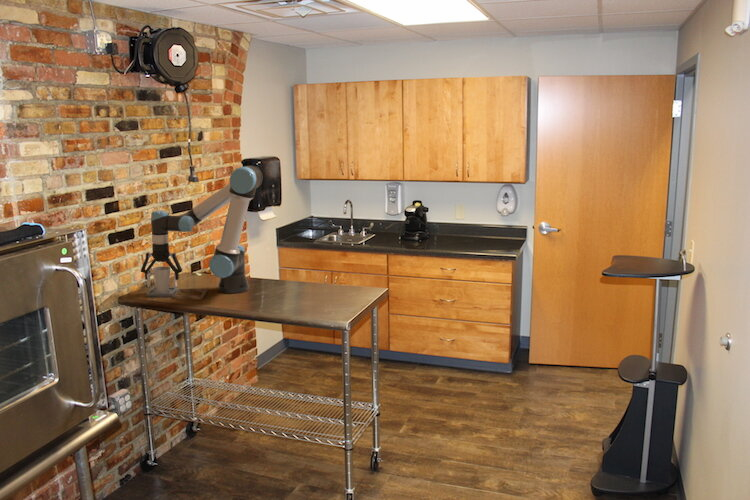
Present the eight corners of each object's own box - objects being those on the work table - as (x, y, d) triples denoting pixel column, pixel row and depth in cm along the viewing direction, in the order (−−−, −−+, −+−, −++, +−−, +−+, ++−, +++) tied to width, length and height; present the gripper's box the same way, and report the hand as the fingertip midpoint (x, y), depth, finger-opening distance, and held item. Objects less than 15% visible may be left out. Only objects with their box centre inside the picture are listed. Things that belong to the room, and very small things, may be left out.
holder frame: (207, 291, 306) (207, 288, 305) (202, 299, 292) (202, 296, 292) (179, 291, 304) (179, 288, 304) (173, 299, 291) (172, 296, 291)
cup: (165, 294, 295) (164, 270, 292) (150, 293, 296) (149, 269, 294) (174, 290, 303) (173, 267, 300) (159, 289, 304) (158, 265, 302)
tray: (178, 290, 306) (177, 287, 306) (172, 297, 294) (172, 293, 294) (153, 290, 305) (153, 286, 305) (146, 297, 293) (146, 293, 293)
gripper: (187, 241, 299) (189, 284, 304) (137, 240, 297) (139, 283, 302) (184, 244, 292) (185, 288, 296) (132, 243, 290) (134, 288, 294)
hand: (162, 286), depth 299 cm, fingers open, 12 cm apart
